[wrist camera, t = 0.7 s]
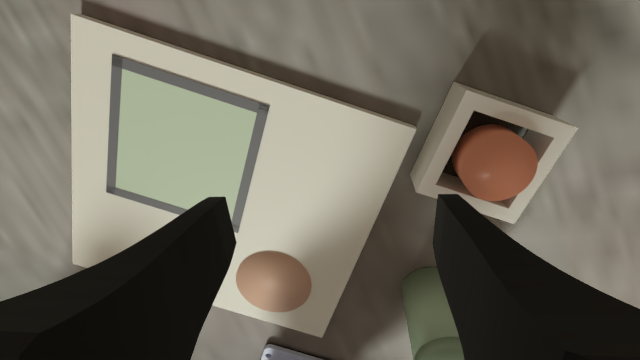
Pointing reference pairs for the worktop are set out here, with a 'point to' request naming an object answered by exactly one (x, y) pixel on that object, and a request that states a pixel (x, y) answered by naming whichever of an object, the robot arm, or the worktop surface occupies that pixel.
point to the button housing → (448, 127)
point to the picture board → (226, 168)
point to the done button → (494, 162)
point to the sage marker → (430, 317)
